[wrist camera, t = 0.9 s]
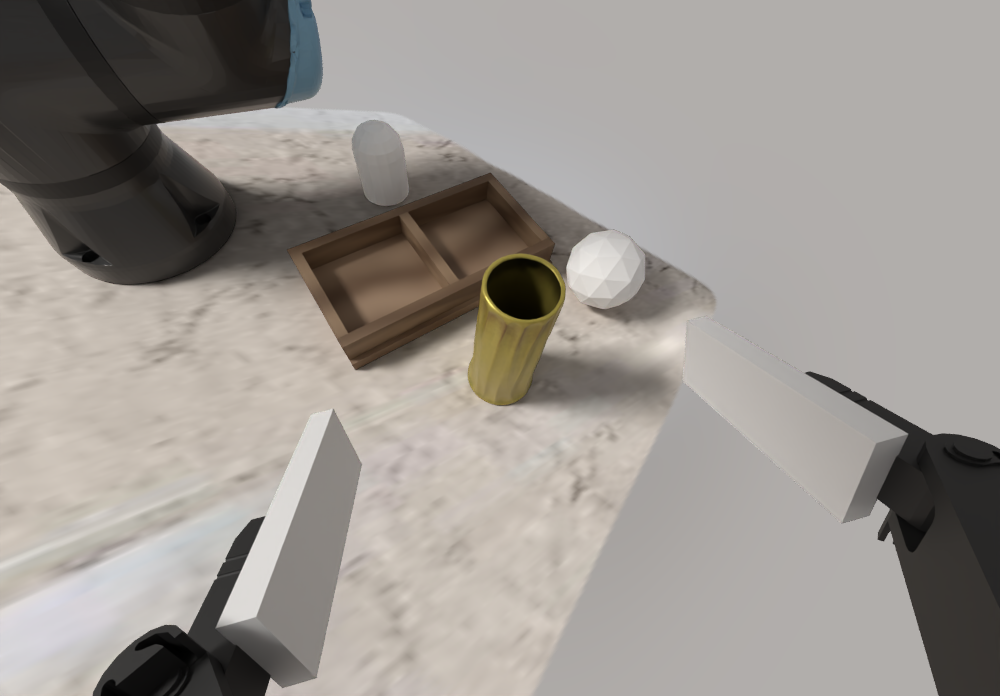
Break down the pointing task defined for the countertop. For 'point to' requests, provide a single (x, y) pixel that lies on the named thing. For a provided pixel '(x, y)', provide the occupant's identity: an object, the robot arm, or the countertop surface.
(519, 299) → the vase
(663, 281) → the countertop surface
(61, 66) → the robot arm
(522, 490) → the countertop surface
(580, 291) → the ball
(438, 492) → the countertop surface
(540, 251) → the tray
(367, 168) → the white dome-topped block
